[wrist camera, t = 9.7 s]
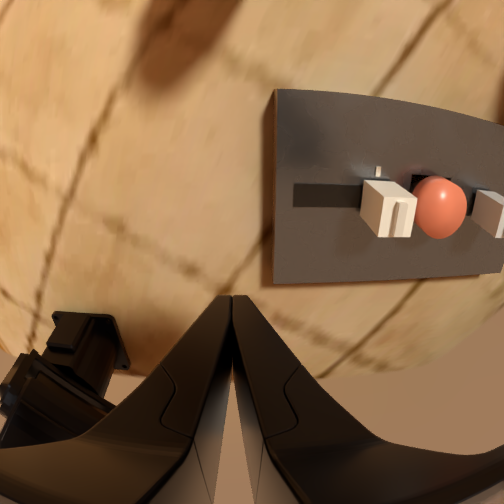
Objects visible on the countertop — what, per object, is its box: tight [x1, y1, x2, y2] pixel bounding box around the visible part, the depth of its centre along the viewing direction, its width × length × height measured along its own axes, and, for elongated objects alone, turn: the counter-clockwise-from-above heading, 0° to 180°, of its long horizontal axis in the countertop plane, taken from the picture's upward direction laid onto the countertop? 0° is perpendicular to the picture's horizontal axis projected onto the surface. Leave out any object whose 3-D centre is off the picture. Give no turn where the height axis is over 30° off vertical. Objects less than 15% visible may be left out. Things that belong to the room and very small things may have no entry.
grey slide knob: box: [471, 190, 504, 238], centre depth 16 cm, size 2×2×3 cm
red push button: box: [409, 175, 467, 239], centre depth 18 cm, size 4×4×4 cm
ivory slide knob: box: [360, 180, 418, 237], centre depth 16 cm, size 2×2×3 cm
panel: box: [271, 89, 504, 284], centre depth 19 cm, size 12×20×2 cm, turn 90°
